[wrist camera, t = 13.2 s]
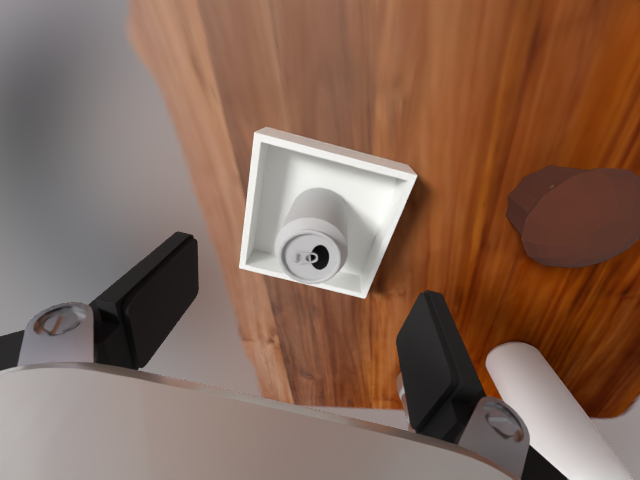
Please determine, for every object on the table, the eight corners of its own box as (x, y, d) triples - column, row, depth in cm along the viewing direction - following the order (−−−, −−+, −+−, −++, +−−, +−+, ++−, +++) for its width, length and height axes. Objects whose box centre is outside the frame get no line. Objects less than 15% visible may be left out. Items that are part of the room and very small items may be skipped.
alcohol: (489, 377, 51) (642, 679, 25) (478, 347, 48) (643, 662, 21) (541, 365, 48) (773, 689, 22) (533, 333, 45) (798, 670, 19)
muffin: (569, 132, 31) (659, 148, 22) (613, 196, 34) (708, 233, 25) (475, 204, 35) (518, 240, 27) (521, 254, 38) (573, 302, 30)
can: (343, 239, 38) (343, 294, 28) (291, 234, 38) (271, 286, 28) (350, 188, 35) (352, 229, 24) (292, 182, 35) (269, 221, 24)
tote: (407, 164, 34) (417, 175, 29) (363, 277, 42) (365, 298, 38) (266, 126, 33) (254, 132, 28) (250, 249, 42) (239, 268, 37)
